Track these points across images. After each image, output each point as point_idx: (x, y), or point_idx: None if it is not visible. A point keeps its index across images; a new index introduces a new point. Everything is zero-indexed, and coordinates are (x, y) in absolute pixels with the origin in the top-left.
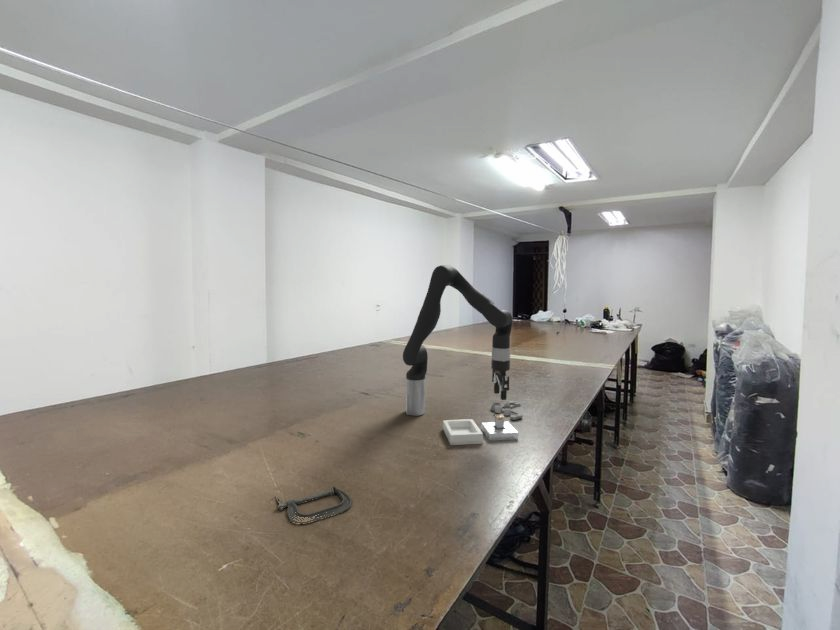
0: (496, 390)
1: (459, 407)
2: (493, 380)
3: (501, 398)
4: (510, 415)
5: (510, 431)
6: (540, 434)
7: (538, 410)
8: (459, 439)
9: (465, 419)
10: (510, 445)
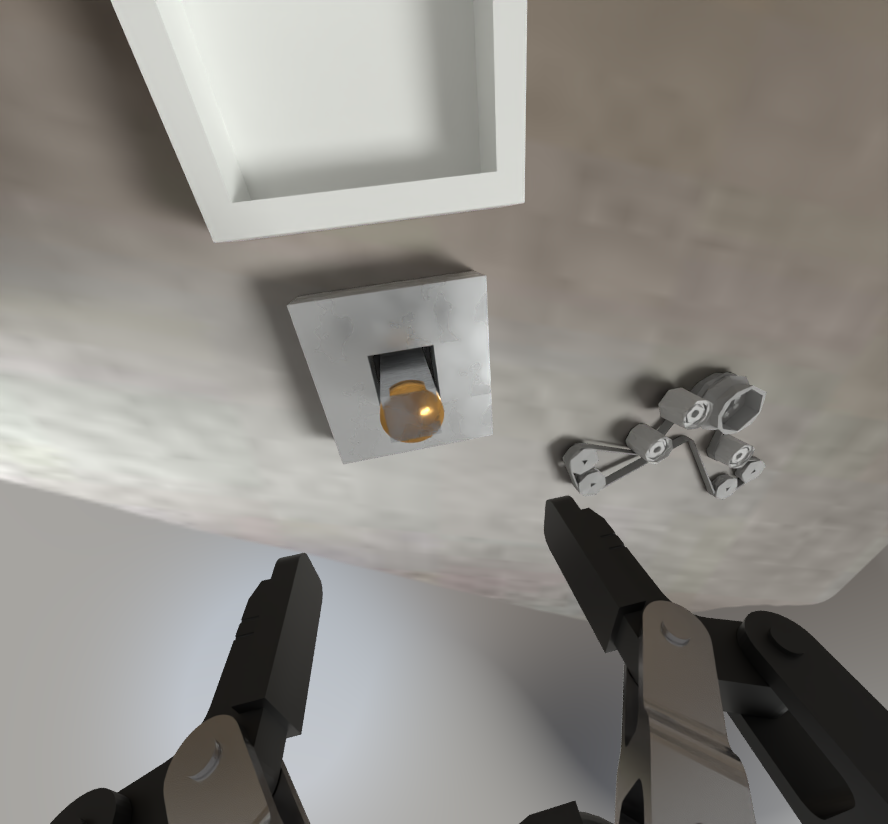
0: (566, 546)
1: (855, 172)
2: (764, 667)
3: (275, 571)
4: (601, 450)
5: (348, 430)
6: (411, 522)
7: (638, 538)
8: None
9: (522, 127)
10: (261, 399)
